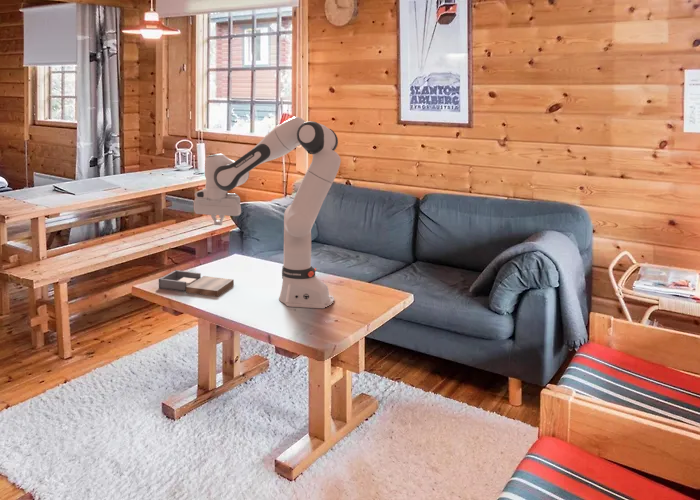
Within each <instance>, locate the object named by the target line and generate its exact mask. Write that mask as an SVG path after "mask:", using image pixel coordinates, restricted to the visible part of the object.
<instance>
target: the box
mask: <svg viewBox="0 0 700 500" xmlns="http://www.w3.org/2000/svg"><path fill="white" fill-rule="evenodd" d="M183 277H186V278H194V279H196V280H198V279H200V278H201V277H202V274H201V272H196V271H195V272H194V271H187V270H180V269H179V270H178V269H175V270H173V271H171V272H169V273H167V274H165V275H164V276H162V277H160V278H159V279H158V289H163V290H170V291H178V292H184V293H186V282H184V281H178V280H180V279H181V278H183Z"/></svg>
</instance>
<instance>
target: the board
mask: <svg viewBox="0 0 700 500" xmlns="http://www.w3.org/2000/svg"><path fill="white" fill-rule="evenodd" d="M234 285H235V284H234V279H232V278H231V279H230V278H224V277H216V276H206V275H203V276H201V278H200V279H198V280H196V281H195V282H193V283H191V284H190V285H188V286H186V291H185V293H187V294H194V295H201V296H202V295H203V296H210V297H218V296H220V295H222V294H223V293H224V292H226V291H227V290H229V289H230V288H231V287H234Z"/></svg>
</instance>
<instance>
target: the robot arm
mask: <svg viewBox="0 0 700 500" xmlns="http://www.w3.org/2000/svg"><path fill="white" fill-rule="evenodd" d="M338 144H339V138H338V136H337V134H336V133H335V131H334V130H333V129H331V128H329V127H327V126H326V125H324V124H322V123H318V122H316V121H305V119H303V118H302V117H300V116H293V117H291V118H288V119H286V120H285V121H283V122H282V123H280V124H279V125H277V126H275V127H274V128H273V129H272V130H270V131H269V132H268V133H267V134H266V135H265V136H264V137H263V138H262V139H261V140H260V141H259V142H258V143H257V144H256V145H255V146H254V147H253V148H252V149H251V150H249V151H247V153H245V154H243V155H242V156H241V157H239V158H238V159H236V160H233V159H231V158H229V157H228V156H227V155H225V154H224V153H215V154H211V155H208V156H207V157H206V158H205V160H204V178H205V188H203V189H201V190H198V191H195V193H194V197H195V198H194V200H193V211H194V213H195V214H196V215H209V216H210V215H211V218H212V221H213V224H214V226H223V220H224V218H225V217H226V216H227V217H228V216H229V217H231V216H233V217H239V216H240V215H241V214H242V207H241V197H240V196H239V194H237V193H229V191H232V190H233V189H235V188H237V187H239V186H242V185H244V184H245V183H246V182H247V181H248V180H249V177H250V172H251V170H253V169H254V168H256V167H258V166H259V165H261V164H264V163H266V162H270V161H274V160H276V159H279V158H281V157H283V156H286V155H287V154H289V153H290V152H292V151H294V150H295V149H296V148H297V147H299V146H301V147H303V149H304V150H305V151H306V152H307V153H308V154H309V155H312V158H311V159H312V160H311V162H310V164H309V166H308V168H307V171H306V172H305V174H304V176H303V178H302V180H301V182H300V184H299V186H298V189H297V192H296V193H295V196H294V198H293V200H292V203H291V204H289V205H288V206H287V207H286V208H285V210H284V212H283V265H282V269H281V278H282V283H281V284H282V285H281V290H280V295H279V296H278V300H279V301H280V302H281V303H283V304H285V306H286V307H293V308H309V309H310V308H311V309H325V307H327V306H329V305H331V304H332V303H334V302H335V298H334V295H331V294H330V291H329V288H328V285H327V284H326V283H325V282H324V281H322V280H321V279H320V278H319V277H318V276H316V271H317V267H315V268H314V267H313V266H312V228H313V227H314V225H315V222H316V220H317V217H318V215H319V213H320V210H321V209H322V206H323V203H324V201H325V199H326V197H327V196H328V193H329V191H330V189H331V187H332V185H333V183H334V181H335V179H336V177H337V174H338V172H339V169H340V166H341V163H342V160H341V156H340V154H338V152H336V151H335V150H337V148H338ZM217 216H219V218H220V219H219V220H218V219H217ZM333 301H334V302H333ZM332 305H333V304H332ZM332 305H331V306H332ZM329 307H330V306H329ZM327 308H328V307H327Z"/></svg>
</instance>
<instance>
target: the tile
mask: <svg viewBox="0 0 700 500" xmlns="http://www.w3.org/2000/svg"><path fill="white" fill-rule="evenodd" d="M178 281H184V282H186V286H188V285H190V284H191V283H193V282H195V281H196V279H194V278H186V277H183V278H181V279H180V280H178Z"/></svg>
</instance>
